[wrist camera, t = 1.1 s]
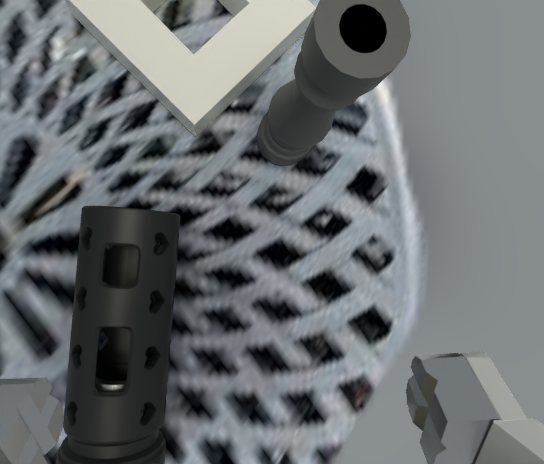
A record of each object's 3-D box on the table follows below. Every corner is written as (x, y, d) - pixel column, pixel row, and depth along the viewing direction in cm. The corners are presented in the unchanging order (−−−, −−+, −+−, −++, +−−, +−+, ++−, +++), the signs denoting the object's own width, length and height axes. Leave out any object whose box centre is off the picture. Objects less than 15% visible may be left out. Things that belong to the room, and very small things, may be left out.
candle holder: (280, 177, 48) (358, 105, 23) (245, 135, 47) (286, 16, 23) (319, 143, 49) (435, 40, 24) (285, 102, 48) (368, -48, 23)
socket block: (74, 17, 45) (58, -12, 40) (193, -86, 47) (191, -125, 42) (195, 137, 46) (194, 124, 41) (305, 32, 49) (316, 8, 44)
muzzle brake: (186, 218, 46) (180, 211, 36) (166, 475, 45) (154, 543, 35) (96, 211, 45) (63, 202, 34) (73, 476, 44) (33, 548, 33)
